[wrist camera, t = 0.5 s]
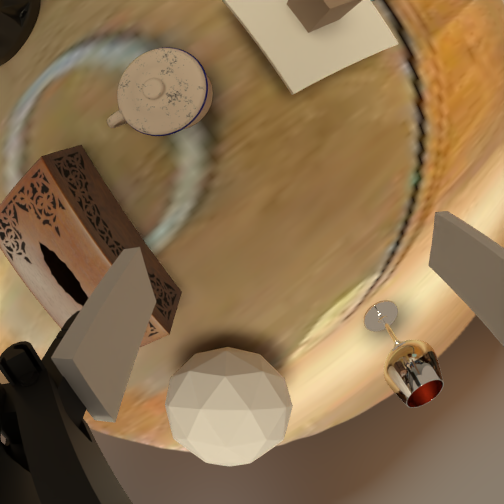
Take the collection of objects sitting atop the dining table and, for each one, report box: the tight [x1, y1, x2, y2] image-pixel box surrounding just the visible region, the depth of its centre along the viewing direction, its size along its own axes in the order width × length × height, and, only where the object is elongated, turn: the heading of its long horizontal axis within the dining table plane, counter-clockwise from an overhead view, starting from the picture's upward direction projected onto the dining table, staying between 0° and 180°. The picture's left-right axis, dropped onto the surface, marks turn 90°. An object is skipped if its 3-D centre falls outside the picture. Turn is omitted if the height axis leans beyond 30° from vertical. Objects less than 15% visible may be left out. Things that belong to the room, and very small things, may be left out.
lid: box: [222, 0, 398, 95], centre depth 20 cm, size 14×14×9 cm
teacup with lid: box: [107, 47, 213, 136], centre depth 28 cm, size 12×9×12 cm
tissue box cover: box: [0, 145, 181, 347], centre depth 36 cm, size 26×14×10 cm, turn 29°
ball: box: [165, 347, 292, 466], centre depth 43 cm, size 19×20×20 cm
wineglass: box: [364, 301, 444, 408], centre depth 40 cm, size 8×8×18 cm
